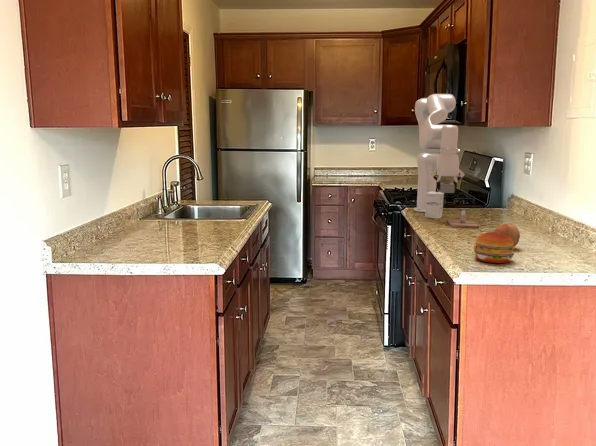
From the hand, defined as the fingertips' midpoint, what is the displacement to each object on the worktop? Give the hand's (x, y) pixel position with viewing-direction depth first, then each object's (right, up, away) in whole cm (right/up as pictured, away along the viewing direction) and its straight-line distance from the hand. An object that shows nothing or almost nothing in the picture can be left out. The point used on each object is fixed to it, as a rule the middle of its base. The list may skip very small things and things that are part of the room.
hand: (446, 190), depth 259 cm
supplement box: (-1, -13, +19) cm, 23 cm away
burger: (-2, -29, -67) cm, 73 cm away
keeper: (+7, -16, -1) cm, 18 cm away
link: (0, -1, 0) cm, 1 cm away
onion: (+9, -25, -49) cm, 56 cm away
